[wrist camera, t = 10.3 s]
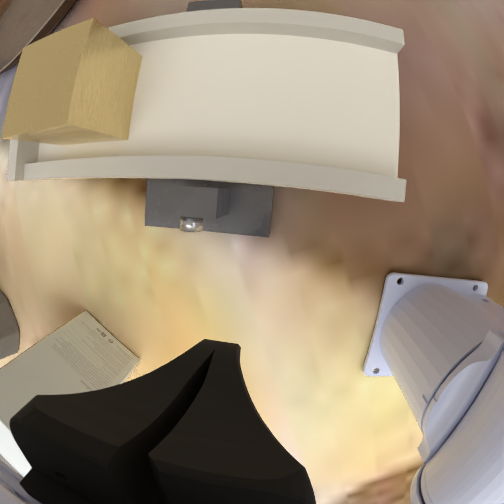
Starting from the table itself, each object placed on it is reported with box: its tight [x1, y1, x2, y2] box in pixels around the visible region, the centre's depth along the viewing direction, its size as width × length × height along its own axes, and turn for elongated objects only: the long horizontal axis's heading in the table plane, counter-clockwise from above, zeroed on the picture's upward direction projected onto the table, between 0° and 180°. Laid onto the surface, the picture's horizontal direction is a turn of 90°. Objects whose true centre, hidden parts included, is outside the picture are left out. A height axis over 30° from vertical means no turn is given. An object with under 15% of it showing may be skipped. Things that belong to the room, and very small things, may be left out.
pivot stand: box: [145, 0, 274, 237], centre depth 15 cm, size 8×15×4 cm, turn 175°
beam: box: [7, 8, 406, 202], centre depth 12 cm, size 22×9×3 cm, turn 85°
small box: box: [0, 311, 140, 477], centre depth 16 cm, size 8×6×13 cm
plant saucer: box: [0, 0, 76, 74], centre depth 14 cm, size 21×21×3 cm
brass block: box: [2, 18, 142, 146], centre depth 11 cm, size 5×5×5 cm
